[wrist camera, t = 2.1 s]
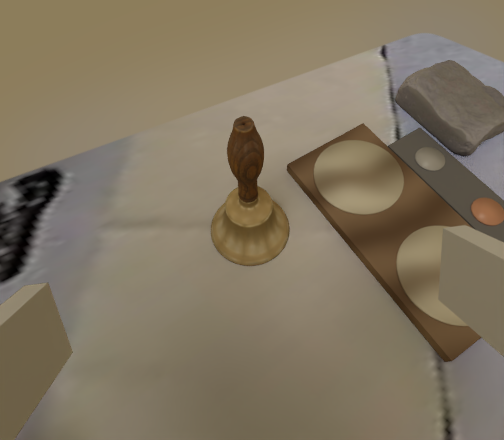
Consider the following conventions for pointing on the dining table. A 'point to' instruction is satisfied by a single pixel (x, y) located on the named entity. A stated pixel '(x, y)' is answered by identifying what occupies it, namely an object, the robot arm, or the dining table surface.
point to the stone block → (453, 106)
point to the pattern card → (452, 182)
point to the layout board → (388, 227)
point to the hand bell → (248, 205)
